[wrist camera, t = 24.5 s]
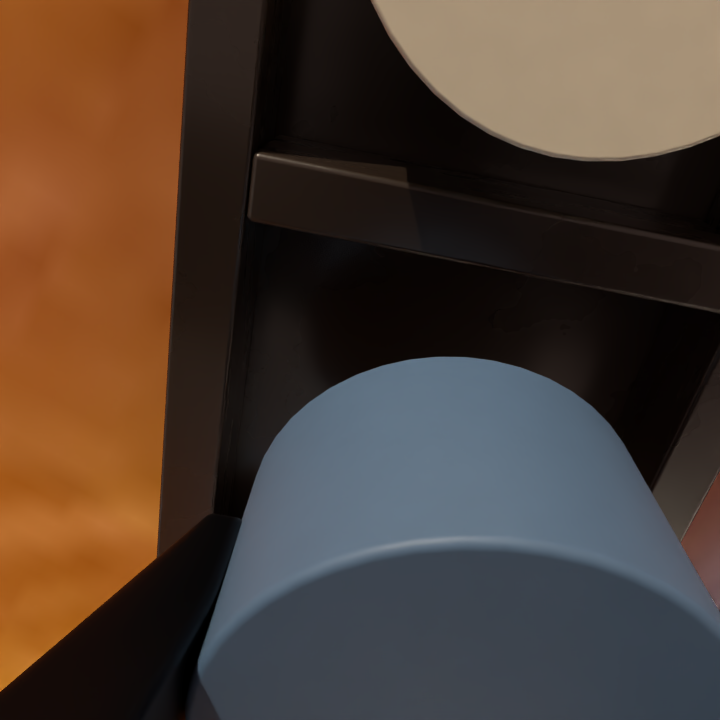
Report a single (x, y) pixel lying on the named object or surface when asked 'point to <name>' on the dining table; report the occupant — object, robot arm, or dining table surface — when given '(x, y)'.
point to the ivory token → (570, 70)
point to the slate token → (455, 564)
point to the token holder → (415, 256)
